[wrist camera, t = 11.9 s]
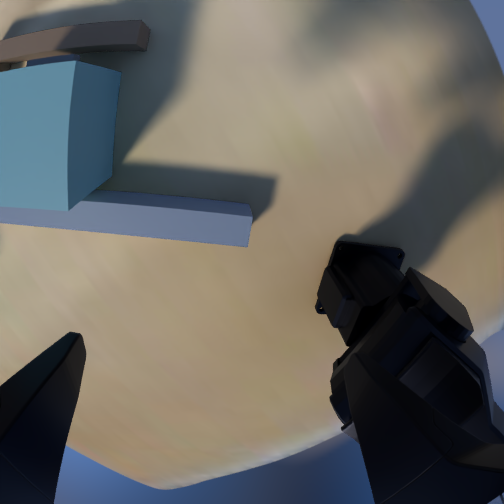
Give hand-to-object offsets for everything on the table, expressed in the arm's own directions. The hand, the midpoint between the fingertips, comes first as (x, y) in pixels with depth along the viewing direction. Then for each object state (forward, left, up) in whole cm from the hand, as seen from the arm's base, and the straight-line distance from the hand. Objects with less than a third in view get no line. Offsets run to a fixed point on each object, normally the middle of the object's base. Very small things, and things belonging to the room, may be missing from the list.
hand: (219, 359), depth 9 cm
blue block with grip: (+10, -5, -13) cm, 17 cm away
